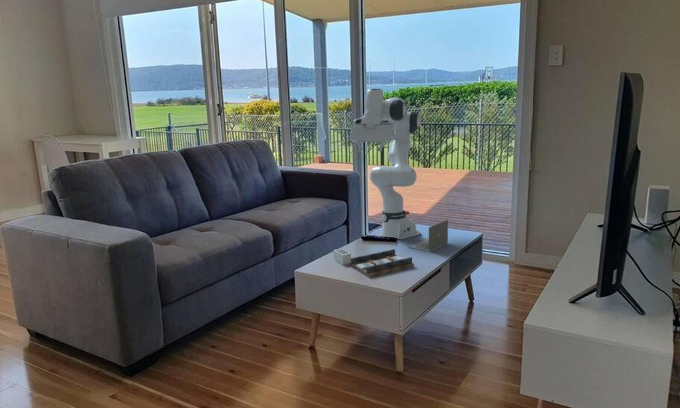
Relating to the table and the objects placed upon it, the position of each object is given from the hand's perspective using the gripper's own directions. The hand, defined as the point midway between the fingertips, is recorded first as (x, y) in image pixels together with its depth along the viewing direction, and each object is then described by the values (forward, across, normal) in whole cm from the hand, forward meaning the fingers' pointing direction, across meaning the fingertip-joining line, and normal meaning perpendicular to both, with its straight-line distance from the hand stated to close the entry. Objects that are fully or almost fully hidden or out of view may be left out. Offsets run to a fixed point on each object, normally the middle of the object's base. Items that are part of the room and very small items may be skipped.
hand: (369, 151), depth 233 cm
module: (+53, +12, -7) cm, 54 cm away
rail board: (+53, -8, -6) cm, 54 cm away
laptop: (+42, -22, -41) cm, 62 cm away
